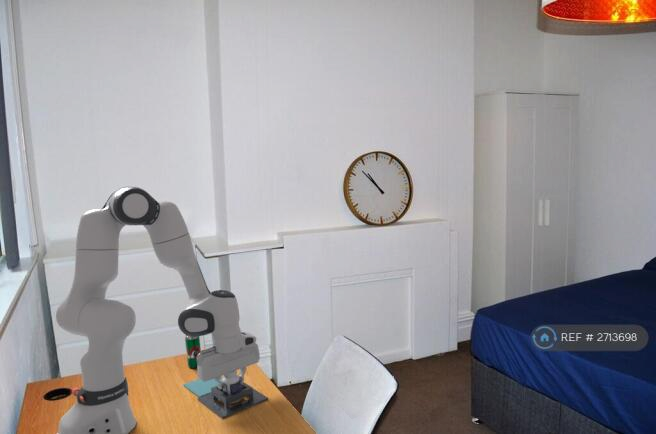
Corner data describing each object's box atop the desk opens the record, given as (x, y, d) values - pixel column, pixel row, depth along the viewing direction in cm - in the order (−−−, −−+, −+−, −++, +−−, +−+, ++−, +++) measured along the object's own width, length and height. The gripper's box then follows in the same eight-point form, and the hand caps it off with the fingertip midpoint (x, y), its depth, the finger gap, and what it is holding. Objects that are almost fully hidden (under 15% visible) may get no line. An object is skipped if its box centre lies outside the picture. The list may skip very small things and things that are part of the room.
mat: (199, 397, 171) (199, 396, 171) (183, 385, 180) (183, 384, 180) (232, 385, 179) (232, 383, 178) (215, 374, 188) (215, 372, 188)
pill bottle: (243, 395, 171) (240, 366, 169) (239, 404, 166) (236, 374, 164) (226, 395, 171) (224, 366, 170) (221, 404, 166) (218, 374, 165)
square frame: (222, 418, 157) (220, 406, 157) (197, 400, 170) (196, 388, 169) (268, 399, 167) (267, 387, 167) (242, 383, 180) (241, 371, 179)
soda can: (205, 363, 197) (201, 332, 195) (196, 369, 193) (193, 337, 191) (194, 362, 199) (190, 331, 197) (185, 367, 195) (181, 336, 193)
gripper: (200, 355, 157) (205, 399, 159) (260, 335, 169) (264, 377, 172) (191, 349, 162) (195, 392, 164) (250, 330, 174) (253, 371, 176)
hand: (231, 384), depth 168 cm, fingers closed on pill bottle, 5 cm apart
